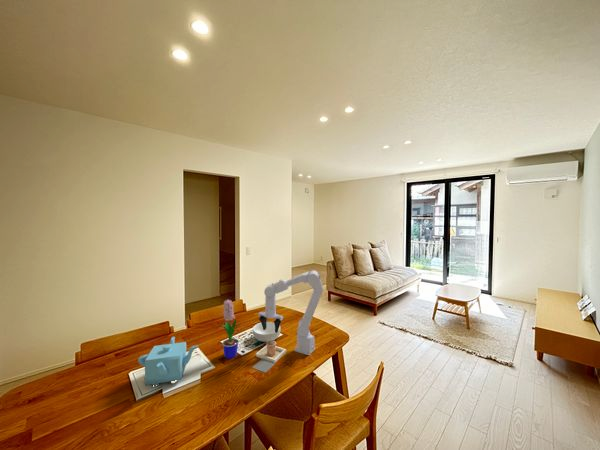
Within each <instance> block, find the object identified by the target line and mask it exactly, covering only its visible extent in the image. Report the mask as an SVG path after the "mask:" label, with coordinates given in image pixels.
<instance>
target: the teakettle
mask: <svg viewBox="0 0 600 450" xmlns="http://www.w3.org/2000/svg"><path fill="white" fill-rule="evenodd" d="M175 339H176V337H175V336H172V337H171V339H170V341H169V343H168V344H167V343H166V344H161V345H154V346H153V348H152V349H150V351H149V353H147V354H144V355H140V357H138V360H137V362H138V364H139V365H141V366H142V367H144V386H152V384H153V385H154V386H156V385H158V384H159V383H160V384H163V383H170V381H175V380H178V381H181V380H182V378H183V374H184V372H185V369H186V366H187V364H188V363H189V362H190V360H191V357H192V354H193V352H194V350H196V349H197V348H199V345H198V344H197V345H193V346H190V348H189V350H188V351H187V342H186V341H183V342H176V341H175ZM175 342H176V343H175ZM160 384H159V385H160ZM159 385H158V386H159ZM156 387H157V386H156Z"/></svg>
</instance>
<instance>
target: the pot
mask: <svg viewBox="0 0 600 450" xmlns="http://www.w3.org/2000/svg"><path fill="white" fill-rule="evenodd" d="M265 343H266V345H267V356H270V357H272V356H275V354H276V346H277V341H276V340H271V341H268V342H265ZM266 345H265V346H266Z"/></svg>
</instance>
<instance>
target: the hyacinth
mask: <svg viewBox="0 0 600 450" xmlns="http://www.w3.org/2000/svg"><path fill="white" fill-rule="evenodd" d="M222 305H223V309H222V313H223V319H224V320H225V323H224V324H221V326H222V327H223V329H224V330H225V332H226V334H227V336H228V338H227V339H224V340H223V342H222V347H223V355H224V358H226V359H233V358H235V357H236V356H237V355H238V346H239V339H238V338H235V337H233V335H234V333H235V331H236V330H237V328H239V327H240V326H241V325H242V323H240V324H238V325H237V326H236V324H237V319H236V317H235V314H234V310H235V309H234V305H233V301H232V300H230V299H226V300H225V301H223V303H222ZM233 319H235V320H234V321H233V323H232V322H231V321H232V320H233Z"/></svg>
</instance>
